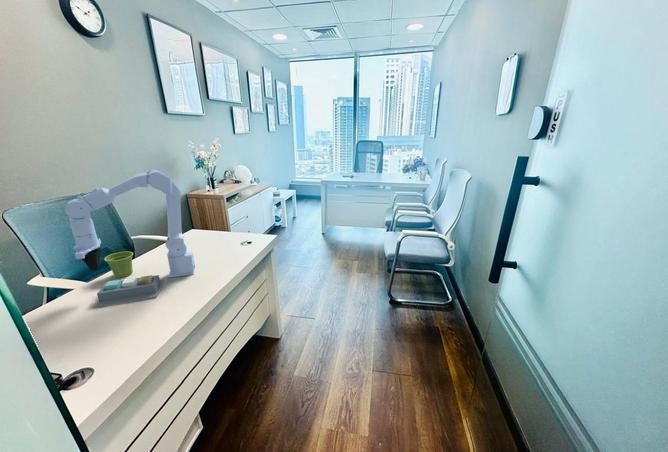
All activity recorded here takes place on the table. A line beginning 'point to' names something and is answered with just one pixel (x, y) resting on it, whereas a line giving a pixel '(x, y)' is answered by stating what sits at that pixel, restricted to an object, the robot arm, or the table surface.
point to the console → (129, 293)
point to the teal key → (113, 284)
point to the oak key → (145, 280)
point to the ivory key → (129, 282)
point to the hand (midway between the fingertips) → (94, 269)
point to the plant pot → (120, 263)
